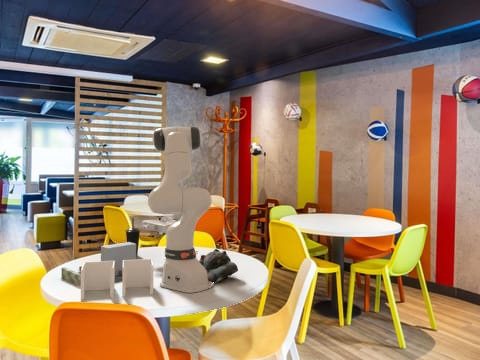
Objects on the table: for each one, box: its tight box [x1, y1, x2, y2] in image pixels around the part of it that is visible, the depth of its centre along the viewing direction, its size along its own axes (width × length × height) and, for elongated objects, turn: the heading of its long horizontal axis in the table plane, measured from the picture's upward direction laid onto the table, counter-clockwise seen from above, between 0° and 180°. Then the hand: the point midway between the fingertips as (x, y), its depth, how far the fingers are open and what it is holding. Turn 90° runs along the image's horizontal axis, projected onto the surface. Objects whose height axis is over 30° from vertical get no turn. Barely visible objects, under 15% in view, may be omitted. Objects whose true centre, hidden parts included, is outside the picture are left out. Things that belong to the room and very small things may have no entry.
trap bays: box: [78, 265, 122, 283], centre depth 170 cm, size 28×9×2 cm, turn 48°
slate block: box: [100, 241, 137, 275], centre depth 175 cm, size 6×14×12 cm, turn 137°
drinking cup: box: [124, 217, 141, 257], centre depth 205 cm, size 8×8×20 cm
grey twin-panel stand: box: [80, 258, 154, 301], centre depth 146 cm, size 25×11×11 cm, turn 106°
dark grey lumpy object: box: [198, 248, 239, 284], centre depth 165 cm, size 15×12×14 cm
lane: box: [61, 266, 122, 286], centre depth 168 cm, size 16×27×4 cm, turn 138°
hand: (144, 227), depth 184 cm, fingers closed
